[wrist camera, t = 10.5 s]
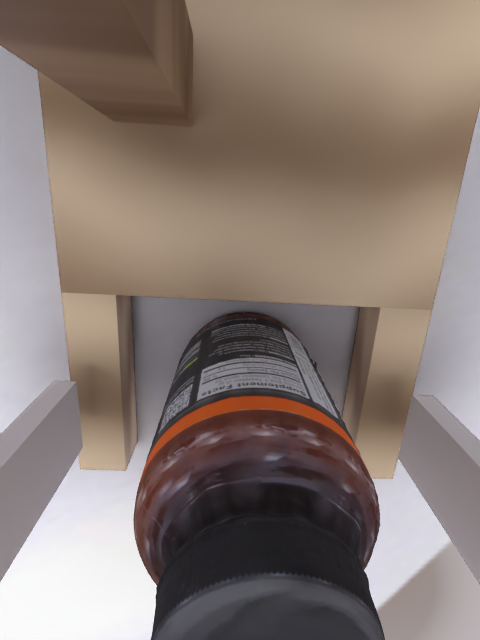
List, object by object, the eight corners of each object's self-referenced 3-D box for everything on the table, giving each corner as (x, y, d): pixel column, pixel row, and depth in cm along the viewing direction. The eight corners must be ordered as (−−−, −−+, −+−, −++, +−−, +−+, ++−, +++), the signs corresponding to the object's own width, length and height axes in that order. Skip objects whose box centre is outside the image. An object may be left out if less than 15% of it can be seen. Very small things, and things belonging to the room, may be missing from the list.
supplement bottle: (289, 434, 18) (374, 792, 7) (170, 411, 17) (65, 761, 6) (325, 323, 16) (516, 576, 5) (193, 294, 15) (102, 508, 5)
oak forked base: (50, -90, 11) (14, -149, 9) (480, -54, 12) (528, -103, 10) (96, 440, 18) (80, 469, 16) (376, 449, 18) (393, 478, 16)
